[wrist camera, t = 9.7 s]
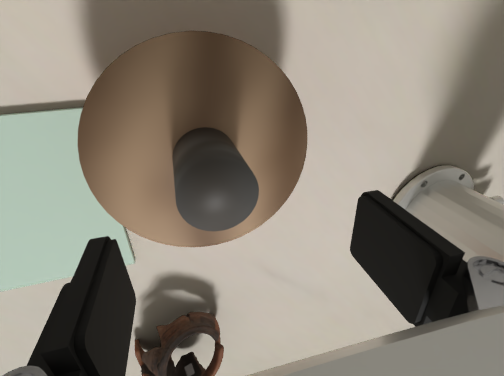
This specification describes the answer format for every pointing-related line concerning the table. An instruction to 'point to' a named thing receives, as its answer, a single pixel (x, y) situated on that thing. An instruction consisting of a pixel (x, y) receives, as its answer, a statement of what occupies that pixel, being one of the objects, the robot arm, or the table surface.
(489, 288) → the robot arm
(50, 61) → the table surface
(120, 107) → the lid
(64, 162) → the mat
